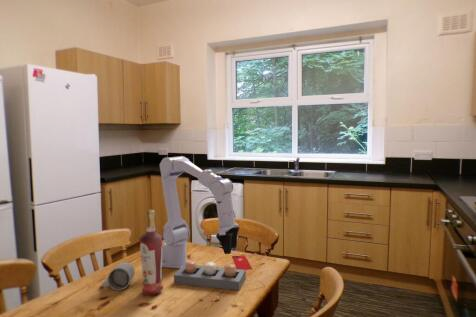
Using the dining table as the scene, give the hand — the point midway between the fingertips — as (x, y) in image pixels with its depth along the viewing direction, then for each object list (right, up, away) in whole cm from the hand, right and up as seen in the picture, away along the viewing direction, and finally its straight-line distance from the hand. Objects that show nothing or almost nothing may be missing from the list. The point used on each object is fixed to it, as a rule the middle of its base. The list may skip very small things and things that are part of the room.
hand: (230, 250), depth 118 cm
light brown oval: (0, -8, 0) cm, 8 cm away
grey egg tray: (-7, -11, +2) cm, 14 cm away
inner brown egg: (-15, -8, +3) cm, 17 cm away
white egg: (-7, -8, +1) cm, 11 cm away
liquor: (-26, -12, -7) cm, 30 cm away
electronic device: (+4, -11, +18) cm, 21 cm away
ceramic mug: (-40, -12, -2) cm, 42 cm away
